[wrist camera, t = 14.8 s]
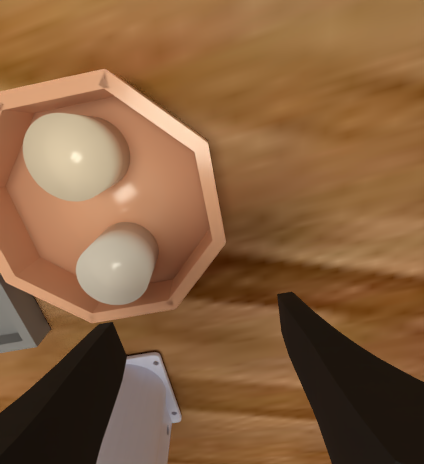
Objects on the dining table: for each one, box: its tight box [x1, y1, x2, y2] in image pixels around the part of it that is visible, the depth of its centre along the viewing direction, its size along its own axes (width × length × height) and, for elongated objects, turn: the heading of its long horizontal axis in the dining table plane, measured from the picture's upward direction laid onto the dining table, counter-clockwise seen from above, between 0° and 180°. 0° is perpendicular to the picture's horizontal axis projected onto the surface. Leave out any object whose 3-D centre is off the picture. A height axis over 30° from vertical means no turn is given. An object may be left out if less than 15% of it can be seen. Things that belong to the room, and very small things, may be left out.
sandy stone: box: [23, 113, 130, 201], centre depth 15 cm, size 4×4×4 cm
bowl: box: [0, 69, 226, 323], centre depth 17 cm, size 15×15×4 cm
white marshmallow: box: [76, 222, 159, 305], centre depth 17 cm, size 4×4×4 cm
